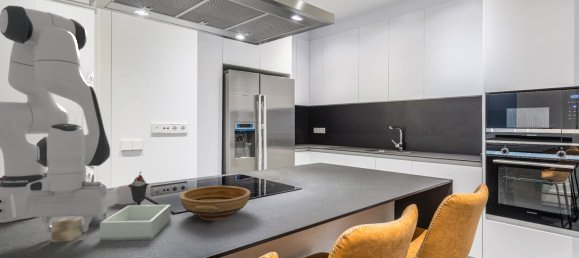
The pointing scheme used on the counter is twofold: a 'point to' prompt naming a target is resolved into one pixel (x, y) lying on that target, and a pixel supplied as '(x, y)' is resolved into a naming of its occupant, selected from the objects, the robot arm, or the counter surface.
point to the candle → (124, 195)
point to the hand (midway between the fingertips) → (67, 231)
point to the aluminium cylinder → (97, 220)
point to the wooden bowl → (214, 201)
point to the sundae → (138, 189)
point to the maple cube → (66, 229)
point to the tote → (135, 222)
